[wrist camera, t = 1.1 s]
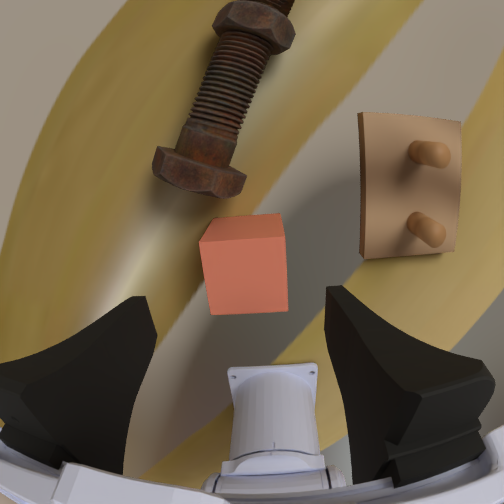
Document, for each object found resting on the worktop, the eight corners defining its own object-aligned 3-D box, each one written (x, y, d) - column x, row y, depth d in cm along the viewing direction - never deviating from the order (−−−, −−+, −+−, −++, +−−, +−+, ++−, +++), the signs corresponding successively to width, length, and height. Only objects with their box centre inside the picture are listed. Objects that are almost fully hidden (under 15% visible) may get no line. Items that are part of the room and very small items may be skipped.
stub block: (446, 246, 21) (474, 267, 17) (359, 252, 21) (377, 277, 17) (452, 121, 17) (485, 122, 13) (357, 113, 18) (379, 108, 14)
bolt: (284, 5, 16) (213, 181, 21) (226, -25, 14) (147, 164, 19) (336, -12, 12) (248, 207, 17) (267, -55, 9) (162, 188, 14)
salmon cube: (283, 274, 22) (288, 311, 17) (221, 278, 22) (210, 315, 18) (280, 213, 20) (285, 236, 16) (213, 218, 21) (198, 242, 16)
